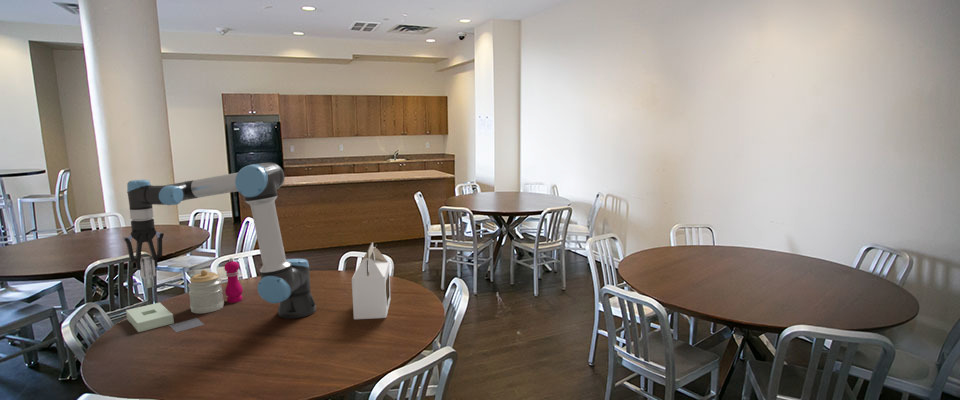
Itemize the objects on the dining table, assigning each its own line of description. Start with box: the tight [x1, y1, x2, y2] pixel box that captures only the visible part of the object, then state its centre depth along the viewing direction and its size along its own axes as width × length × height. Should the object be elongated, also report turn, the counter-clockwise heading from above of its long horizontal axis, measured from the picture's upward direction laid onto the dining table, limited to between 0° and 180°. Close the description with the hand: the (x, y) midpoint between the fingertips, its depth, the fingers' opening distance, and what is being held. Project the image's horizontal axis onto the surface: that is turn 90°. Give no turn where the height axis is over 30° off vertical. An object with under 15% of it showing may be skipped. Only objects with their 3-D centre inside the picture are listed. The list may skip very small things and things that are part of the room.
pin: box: [141, 256, 155, 289], centre depth 197 cm, size 3×3×12 cm
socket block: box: [125, 302, 175, 333], centre depth 200 cm, size 20×12×4 cm, turn 46°
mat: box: [168, 317, 205, 333], centre depth 196 cm, size 10×10×1 cm
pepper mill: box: [223, 257, 244, 304], centre depth 222 cm, size 7×7×20 cm
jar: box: [187, 269, 225, 314], centre depth 213 cm, size 13×13×18 cm
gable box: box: [351, 242, 391, 320], centre depth 209 cm, size 22×13×28 cm, turn 6°
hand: (148, 276), depth 197 cm, fingers closed on pin, 3 cm apart
